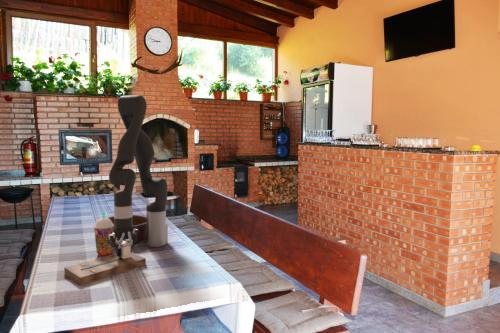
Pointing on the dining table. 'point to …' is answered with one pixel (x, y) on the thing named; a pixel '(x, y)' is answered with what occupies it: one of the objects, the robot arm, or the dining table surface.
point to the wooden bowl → (136, 227)
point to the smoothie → (103, 236)
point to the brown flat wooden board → (102, 268)
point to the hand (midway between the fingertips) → (124, 255)
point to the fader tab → (125, 250)
